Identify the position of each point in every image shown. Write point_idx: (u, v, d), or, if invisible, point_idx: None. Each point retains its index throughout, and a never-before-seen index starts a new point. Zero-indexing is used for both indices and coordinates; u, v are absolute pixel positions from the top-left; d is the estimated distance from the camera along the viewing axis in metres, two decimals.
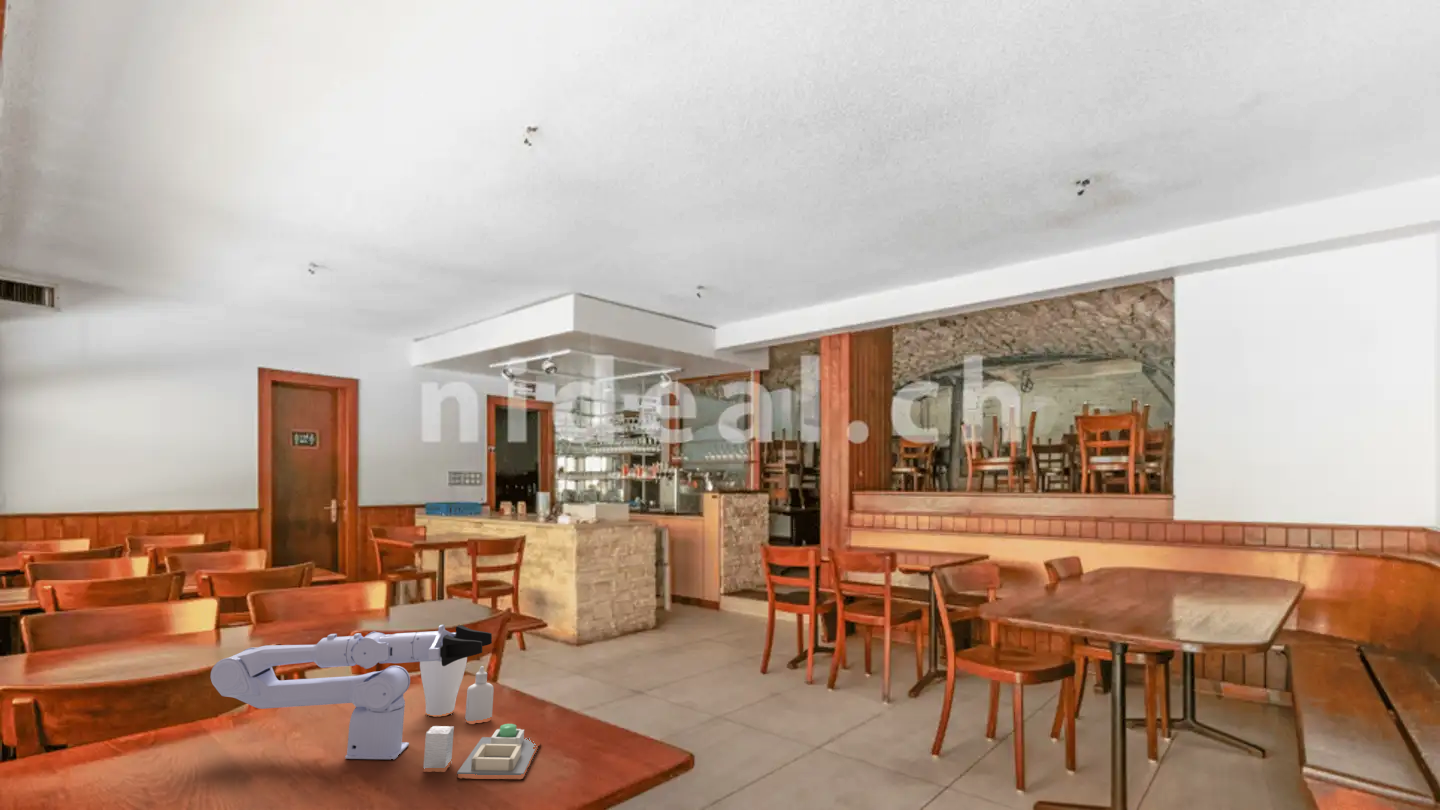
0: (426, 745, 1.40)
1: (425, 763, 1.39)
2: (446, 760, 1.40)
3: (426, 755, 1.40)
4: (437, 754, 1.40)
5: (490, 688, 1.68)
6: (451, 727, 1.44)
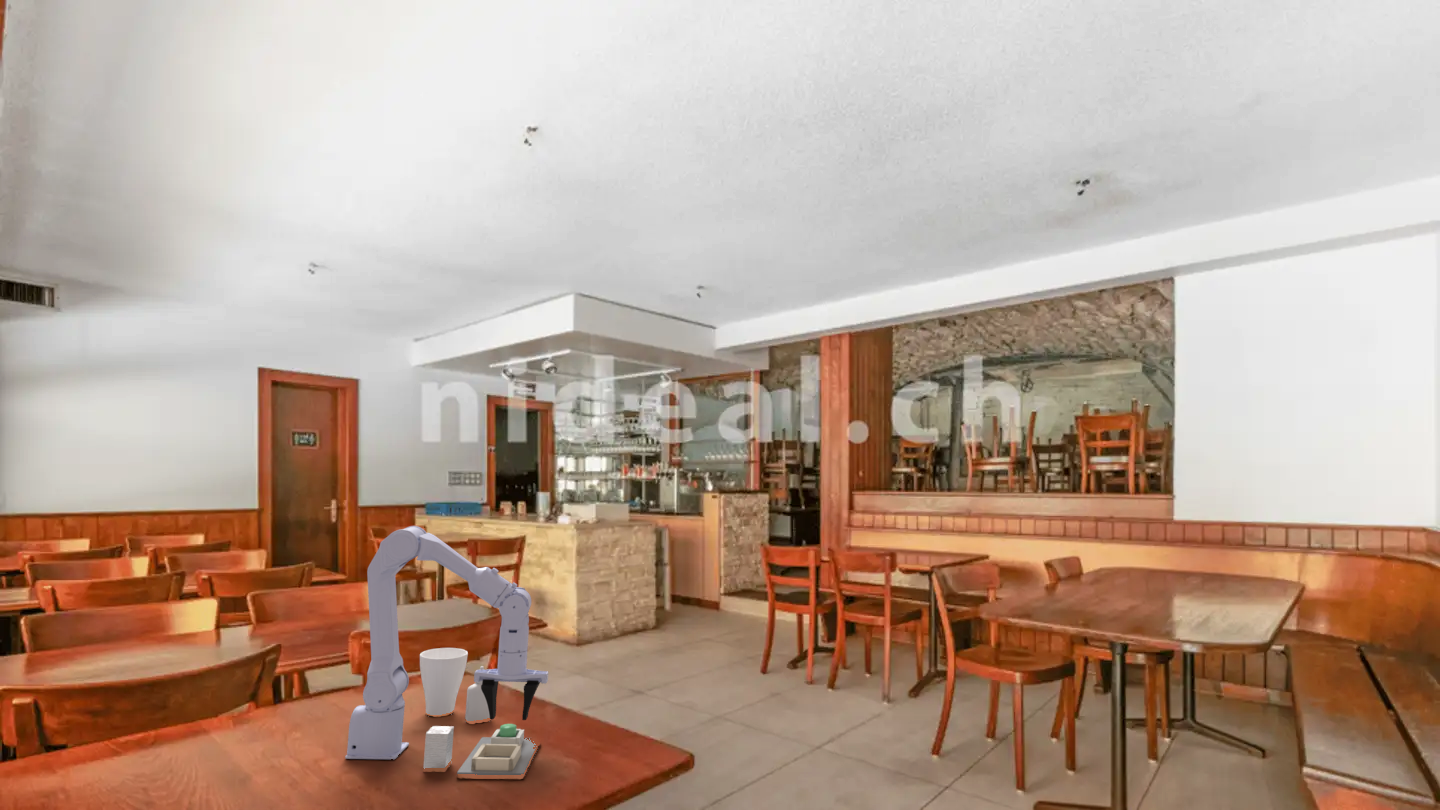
0: (426, 745, 1.40)
1: (425, 763, 1.39)
2: (446, 760, 1.40)
3: (426, 755, 1.40)
4: (437, 754, 1.40)
5: None
6: (451, 727, 1.44)
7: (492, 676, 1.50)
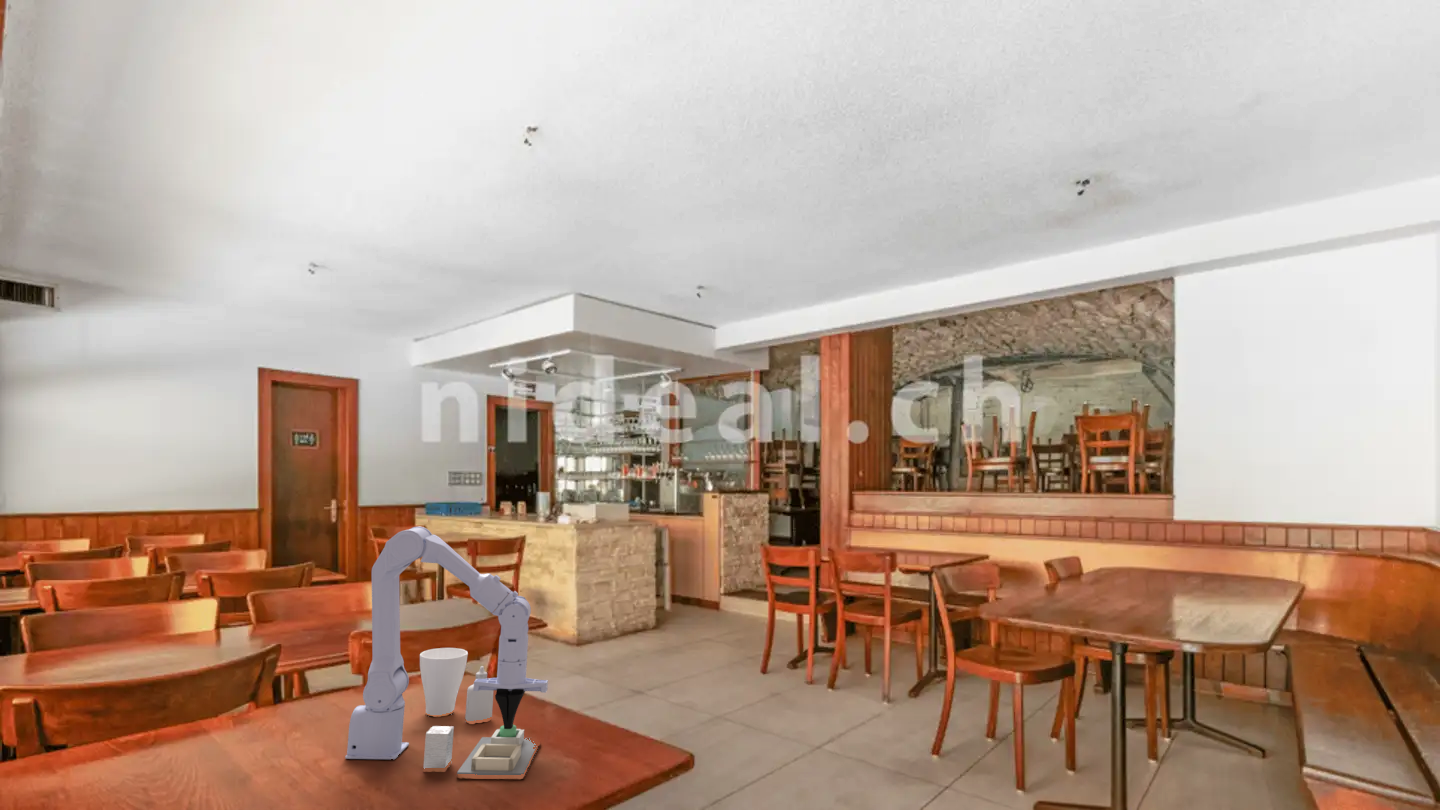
0: (426, 745, 1.40)
1: (425, 763, 1.39)
2: (446, 760, 1.40)
3: (426, 755, 1.40)
4: (437, 754, 1.40)
5: None
6: (451, 727, 1.44)
7: (491, 685, 1.50)
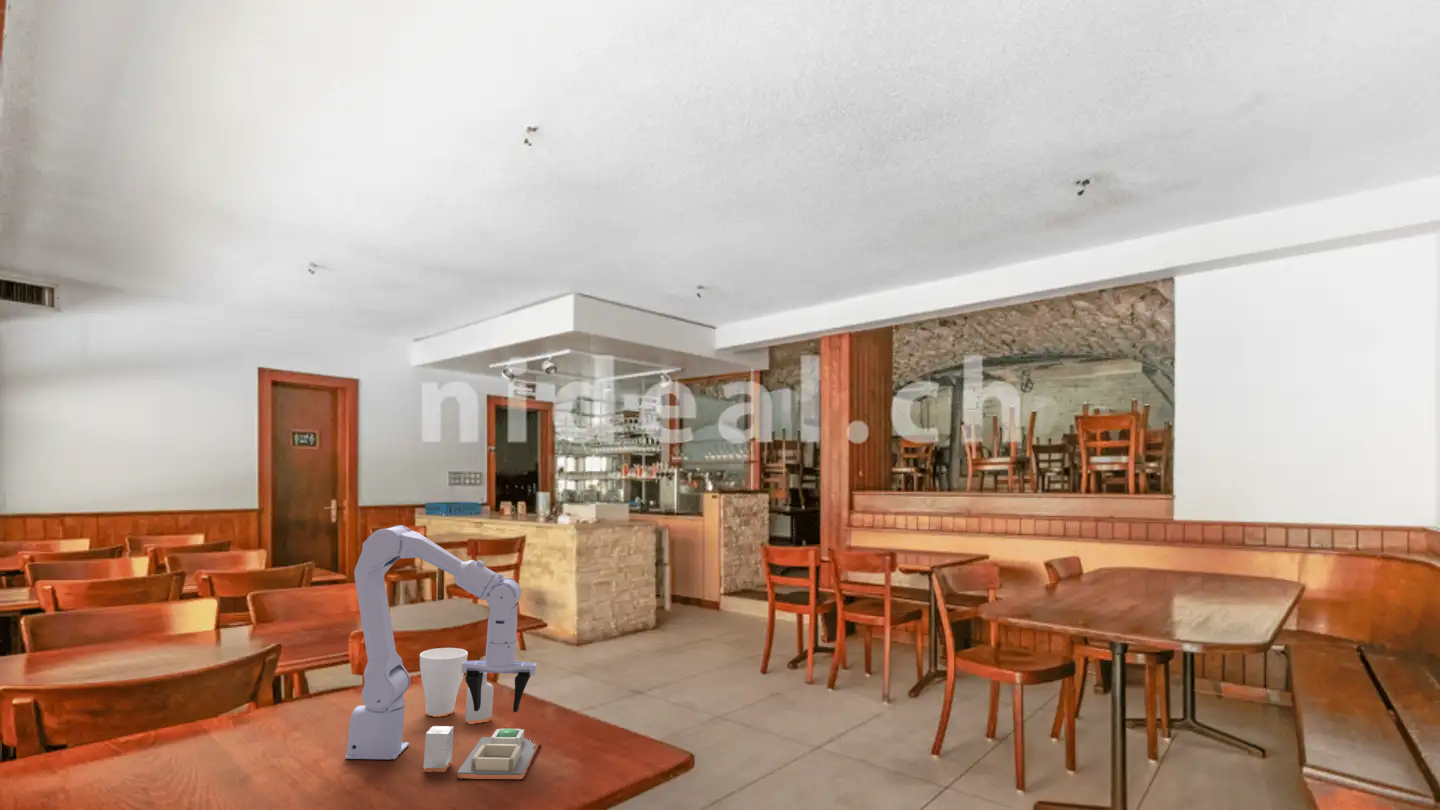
0: (426, 745, 1.40)
1: (425, 763, 1.39)
2: (446, 760, 1.40)
3: (426, 755, 1.40)
4: (437, 754, 1.40)
5: (489, 688, 1.68)
6: (451, 727, 1.44)
7: (480, 667, 1.48)
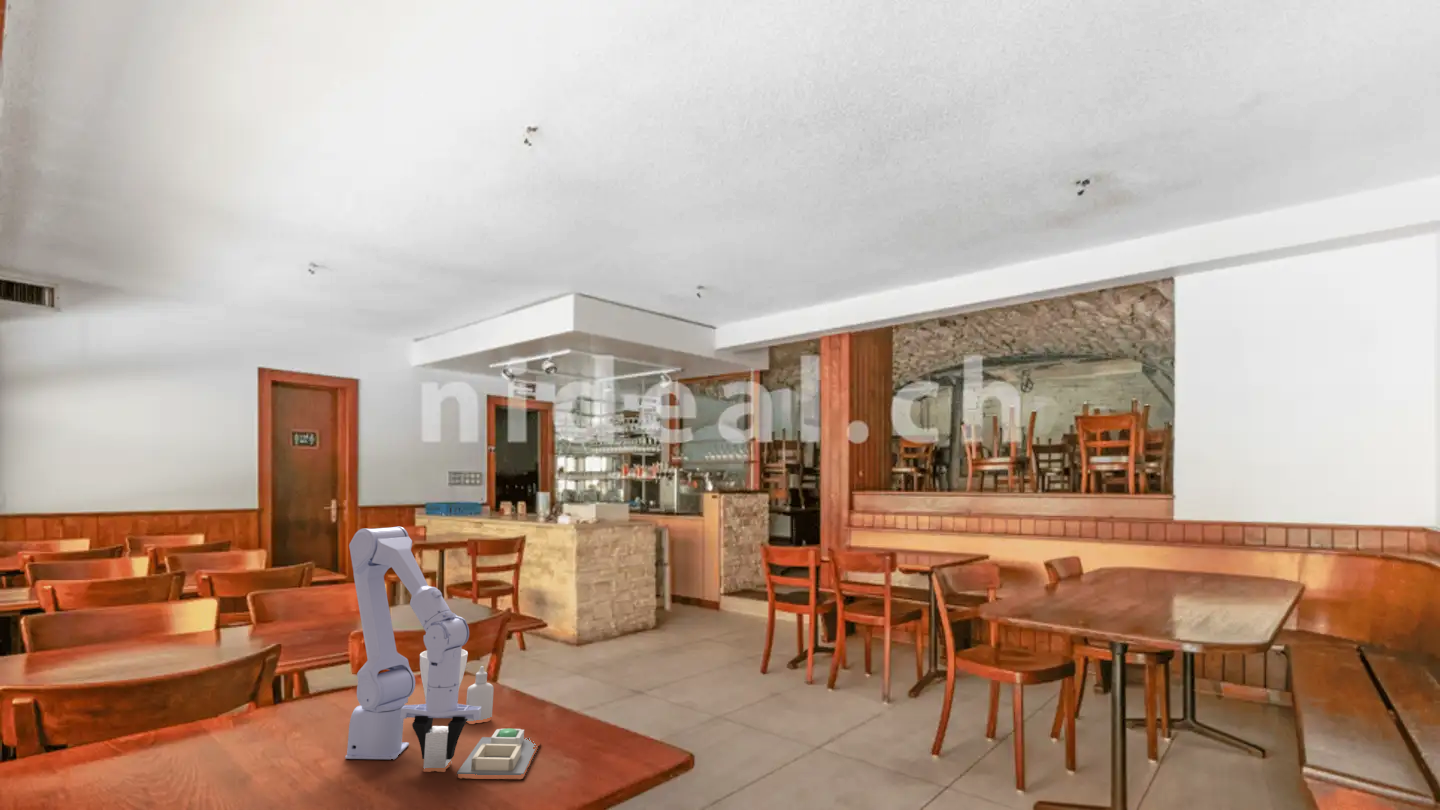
0: (426, 745, 1.40)
1: (425, 763, 1.39)
2: (446, 760, 1.40)
3: (426, 755, 1.40)
4: (437, 754, 1.40)
5: (489, 688, 1.68)
6: None
7: (419, 712, 1.40)
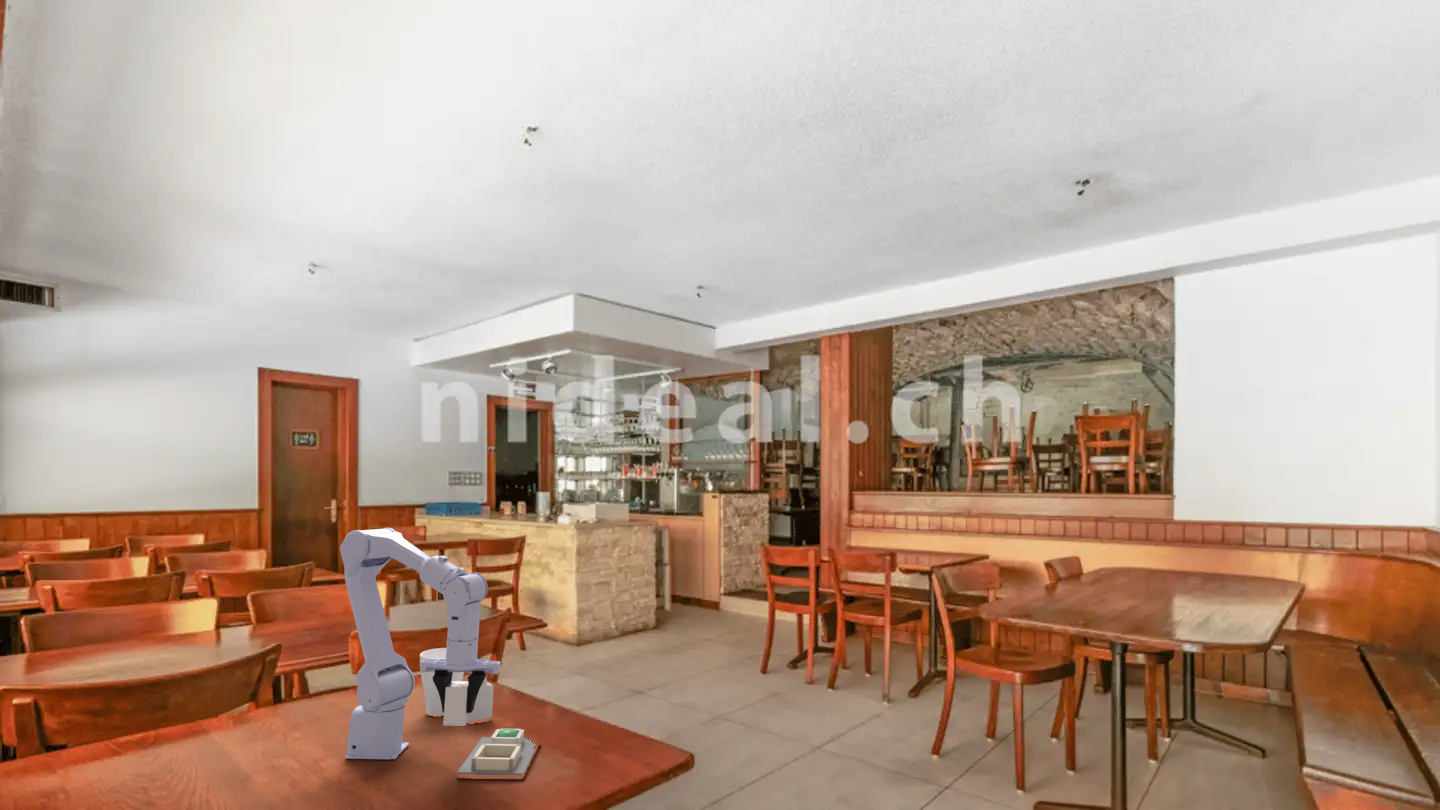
0: (446, 699, 1.41)
1: (445, 716, 1.40)
2: (466, 714, 1.41)
3: (446, 708, 1.40)
4: (457, 708, 1.41)
5: (489, 688, 1.68)
6: None
7: (439, 666, 1.41)
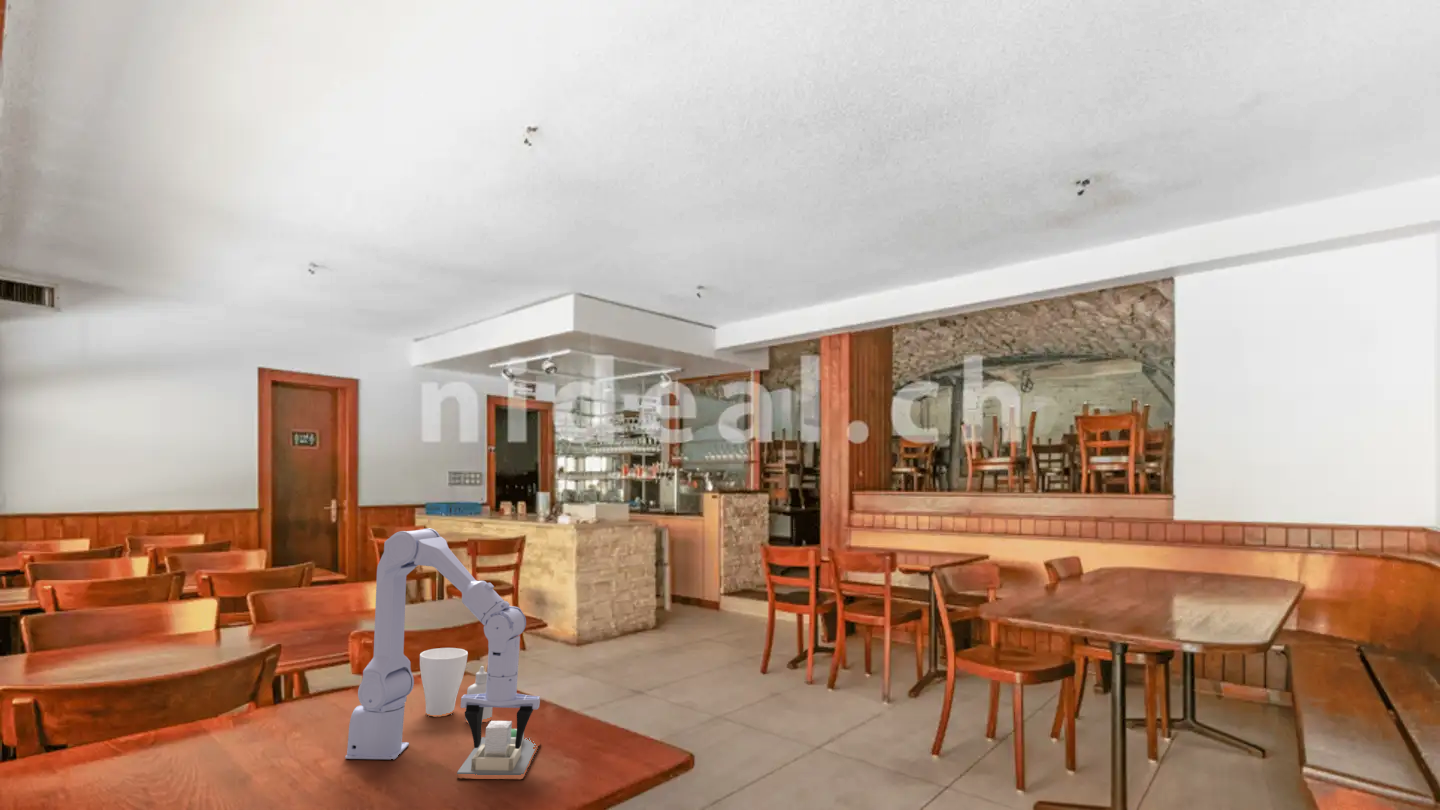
0: (486, 739, 1.40)
1: None
2: (506, 754, 1.41)
3: (486, 749, 1.40)
4: (497, 748, 1.40)
5: None
6: (509, 721, 1.44)
7: (480, 702, 1.41)
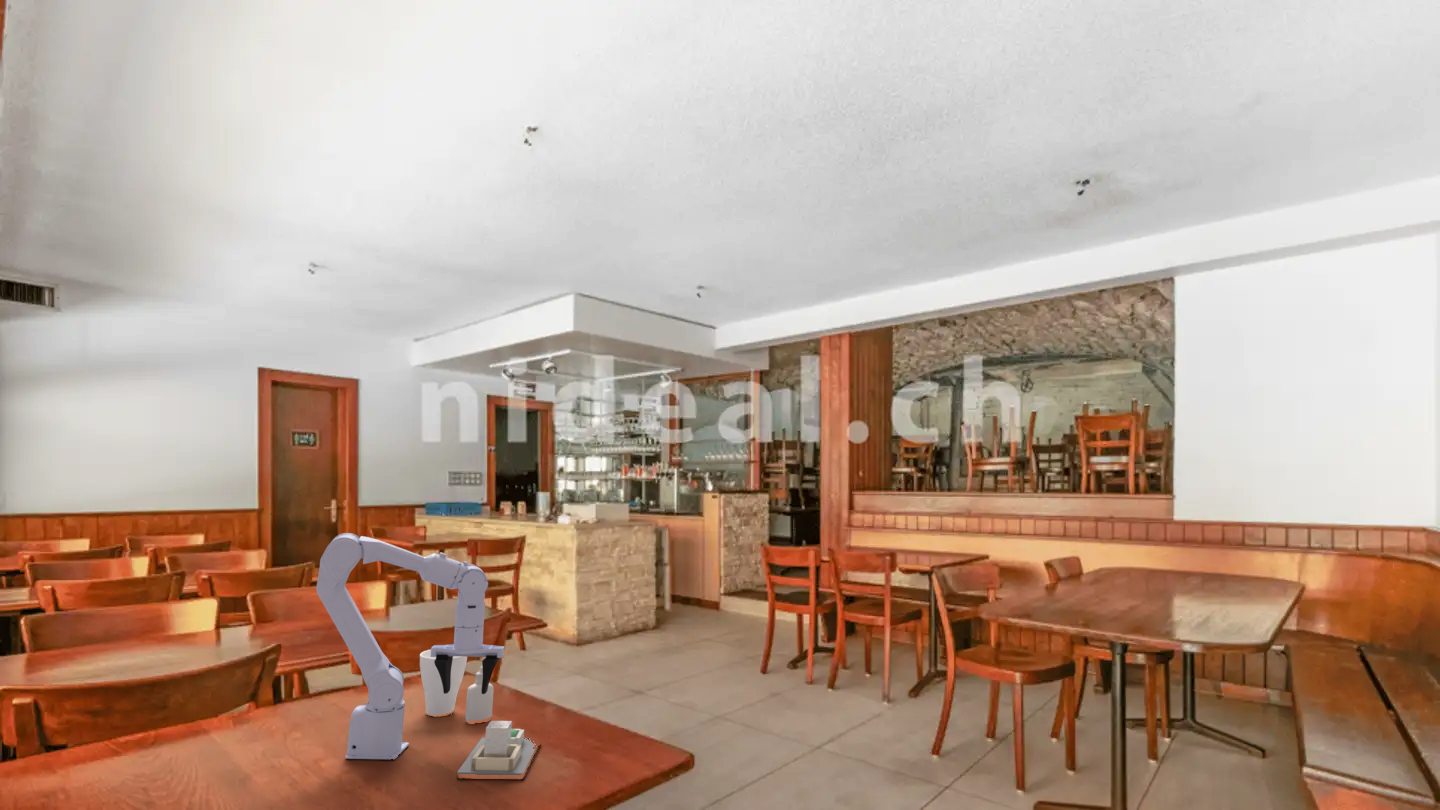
0: (486, 739, 1.40)
1: None
2: (506, 754, 1.41)
3: (486, 749, 1.40)
4: (497, 748, 1.40)
5: (489, 688, 1.68)
6: (509, 721, 1.44)
7: (448, 651, 1.53)
